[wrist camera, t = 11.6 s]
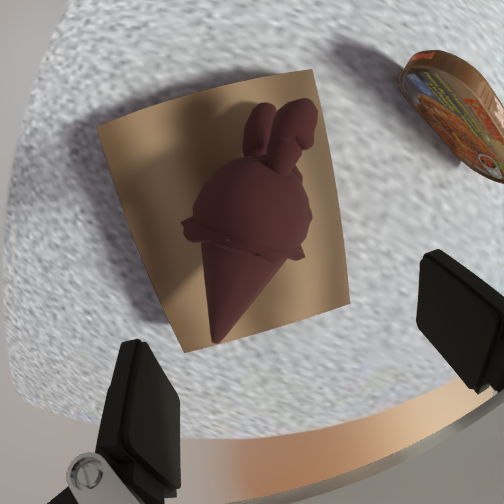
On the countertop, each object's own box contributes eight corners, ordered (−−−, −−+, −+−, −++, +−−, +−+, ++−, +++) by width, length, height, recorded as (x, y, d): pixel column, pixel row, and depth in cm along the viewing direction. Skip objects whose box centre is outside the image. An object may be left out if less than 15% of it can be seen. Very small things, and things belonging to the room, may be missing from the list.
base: (294, 76, 21) (312, 69, 18) (332, 280, 29) (350, 303, 25) (112, 125, 20) (96, 126, 17) (184, 324, 28) (184, 352, 24)
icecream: (291, 373, 18) (377, 125, 15) (171, 380, 15) (253, 63, 11) (245, 317, 24) (304, 121, 20) (149, 311, 21) (204, 85, 17)
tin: (379, 74, 22) (445, 65, 14) (395, 51, 21) (460, 37, 13) (470, 176, 27) (529, 197, 19) (481, 154, 26) (540, 171, 19)
